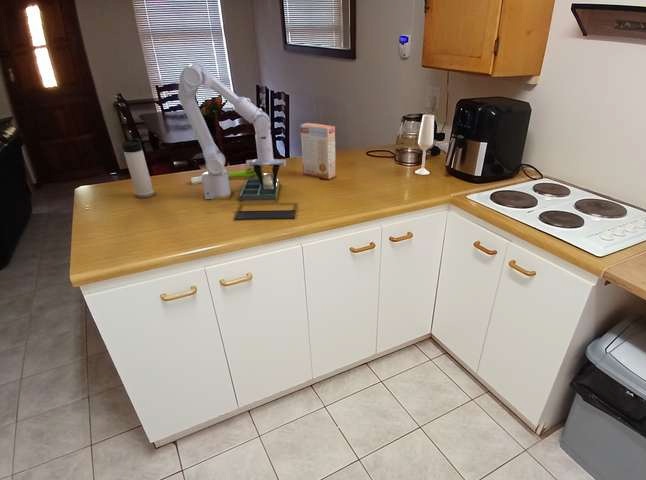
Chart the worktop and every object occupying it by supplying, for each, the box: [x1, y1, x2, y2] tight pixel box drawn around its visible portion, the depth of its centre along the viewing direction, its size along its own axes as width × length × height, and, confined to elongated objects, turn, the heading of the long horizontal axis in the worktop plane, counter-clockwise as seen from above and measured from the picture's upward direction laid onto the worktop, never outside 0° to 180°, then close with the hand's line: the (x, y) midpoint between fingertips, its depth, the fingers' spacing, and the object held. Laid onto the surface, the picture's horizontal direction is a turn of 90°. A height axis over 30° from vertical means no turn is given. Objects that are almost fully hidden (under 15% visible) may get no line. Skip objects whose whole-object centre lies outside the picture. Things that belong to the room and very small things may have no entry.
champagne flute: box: [414, 114, 435, 176], centre depth 178 cm, size 7×7×24 cm
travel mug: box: [121, 138, 155, 199], centre depth 151 cm, size 6×7×20 cm
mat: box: [234, 209, 296, 221], centre depth 144 cm, size 20×14×1 cm
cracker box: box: [300, 122, 336, 180], centre depth 173 cm, size 14×6×21 cm, turn 58°
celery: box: [191, 166, 264, 186], centre depth 170 cm, size 6×7×30 cm
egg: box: [262, 172, 274, 189], centre depth 157 cm, size 4×4×7 cm
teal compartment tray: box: [239, 177, 281, 202], centre depth 159 cm, size 13×20×3 cm
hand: (268, 184), depth 158 cm, fingers closed on egg, 4 cm apart
